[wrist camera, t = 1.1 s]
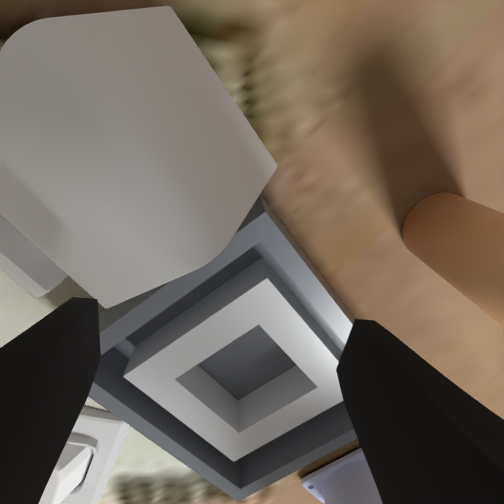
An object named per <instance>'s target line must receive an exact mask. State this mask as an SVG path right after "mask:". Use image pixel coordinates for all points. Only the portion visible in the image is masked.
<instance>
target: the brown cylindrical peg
mask: <svg viewBox="0 0 504 504" xmlns="http://www.w3.org/2000/svg"><path fill="white" fill-rule="evenodd" d="M402 237H403V241H404V244H405V246H406V247H407V249H408V250H409V251H410V252H412V253H413V254H414V255H415V256H417V257H418V258H419V259H420V260H421V261H423V262H424V263H425V264H426V265H428V266H429V267H430V268H431V269H433V270H434V271H435V272H436V273H437V274H439V275H440V276H441V277H442V278H444V279H445V280H446V281H447V282H448V283H450V284H451V285H452V286H453V287H455V288H456V289H457V290H458V291H460V292H461V293H462V294H463V295H464V296H466V297H467V298H468V299H469V300H471V301H472V302H473V303H474V304H475V305H477V306H478V307H479V308H480V309H482V310H483V311H484V312H485V313H487V314H488V315H489V316H490V317H491V318H493V319H494V320H495V321H496V322H498V323H499V324H500V325H501V326H502V327H504V213H501V212H499V211H496V210H494V209H491V208H489V207H486V206H484V205H481V204H479V203H476V202H474V201H471V200H469V199H466V198H464V197H461V196H459V195H456V194H453V193H447V192H442V193H436V194H433V195H430V196H428V197H426V198H424V199H422V200H421V201H420V202H418V203H417V204H416V205H415V206H414V207H413V208H412V209H411V211H410V212H409V213H408V215H407V217H406V219H405V221H404V224H403V229H402Z"/></svg>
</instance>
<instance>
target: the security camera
mask: <svg viewBox="0 0 504 504" xmlns="http://www.w3.org/2000/svg"><path fill="white" fill-rule="evenodd" d="M276 168H277V164H276V162H275V161H274V159H273V158H272V156H271V155H270V153H269V152H268V150H267V149H266V147H265V146H264V144H263V143H262V141H261V140H260V138H259V137H258V135H257V134H256V133H255V131H254V130H253V128H252V127H251V125H250V124H249V122H248V121H247V119H246V118H245V116H244V115H243V113H242V112H241V110H240V109H239V107H238V106H237V104H236V103H235V101H234V100H233V98H232V97H231V95H230V94H229V92H228V91H227V89H226V88H225V86H224V85H223V83H222V82H221V80H220V79H219V77H218V76H217V75H216V73H215V72H214V70H213V69H212V67H211V66H210V64H209V63H208V61H207V60H206V58H205V57H204V55H203V54H202V52H201V51H200V49H199V48H198V46H197V45H196V43H195V42H194V40H193V39H192V37H191V36H190V34H189V33H188V31H187V30H186V28H185V27H184V25H183V24H182V22H181V21H180V19H179V18H178V17H177V15H176V14H175V12H174V11H173V9H172V8H171V7H170V6H160V7H150V8H140V9H130V10H120V11H111V12H101V13H91V14H81V15H71V16H61V17H51V18H44V19H40V20H36V21H33V22H31V23H29V24H27V25H25V26H23V27H22V28H20V29H19V30H18V31H16V32H15V33H14V34H13V35H12V36H11V37H10V38H9V39H8V40H7V41H6V42H5V44H4V46H3V47H2V49H1V51H0V269H1V270H2V271H3V272H4V273H6V274H7V275H8V276H9V277H10V278H12V279H13V280H14V281H15V282H16V283H17V284H19V285H20V286H21V287H22V288H23V289H25V290H26V291H27V292H28V293H29V294H31V295H32V296H33V297H42V296H43V295H45V294H46V293H48V292H50V291H51V290H53V289H54V288H55V287H57V286H58V285H59V284H60V283H61V282H62V281H63V280H64V279H65V278H67V277H68V276H70V277H71V278H72V279H73V280H74V281H75V282H76V283H77V284H79V285H80V286H81V287H82V288H83V289H84V290H85V291H86V292H87V293H88V294H90V295H91V296H92V297H93V298H94V299H98V303H99V304H101V305H102V306H103V307H104V308H105V309H107V308H110V307H112V306H115V305H117V304H119V303H121V302H124V301H126V300H128V299H131V298H133V297H135V296H137V295H140V294H142V293H144V292H147V291H149V290H151V289H153V288H156V287H158V286H160V285H163V284H165V283H167V282H169V281H172V280H174V279H176V278H179V277H181V276H183V275H186V274H188V273H190V272H192V271H195V270H197V269H199V268H201V267H203V266H205V265H206V264H208V263H209V262H210V261H212V260H213V259H214V258H215V257H217V256H218V255H219V254H220V253H221V252H222V251H223V250H224V249H225V248H226V246H227V245H228V244H229V242H230V241H231V239H232V237H233V236H234V234H235V233H236V231H237V230H238V228H239V226H240V225H241V223H242V222H243V220H244V219H245V217H246V215H247V214H248V212H249V211H250V209H251V208H252V206H253V204H254V203H255V201H256V200H257V198H258V197H259V195H260V193H261V192H262V190H263V189H264V187H265V186H266V184H267V182H268V181H269V179H270V178H271V176H272V175H273V173H274V171H275V170H276Z"/></svg>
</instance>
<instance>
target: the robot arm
mask: <svg viewBox="0 0 504 504" xmlns="http://www.w3.org/2000/svg"><path fill="white" fill-rule="evenodd" d="M100 359H101V350H100V333H99V316H98V299H89V298H77V297H72V298H71V299H69V300H68V301H67V302H65V303H64V304H62V305H61V306H59V307H58V308H57V309H55V310H54V311H52V312H51V313H50V314H48V315H47V316H45V317H44V318H43V319H41V320H40V321H38V322H37V323H36V324H34V325H33V326H31V327H30V328H29V329H27V330H26V331H24V332H23V333H21V334H20V335H18V336H17V337H16V338H14V339H13V340H11V341H10V342H8V343H7V344H5V345H4V346H3V347H1V348H0V504H39V502H40V499H41V497H42V494H43V492H44V490H45V487H46V485H47V483H48V481H49V479H50V477H51V475H52V472H53V470H54V468H55V466H56V464H57V462H58V460H59V458H60V455H61V453H62V451H63V449H64V447H65V445H66V443H67V440H68V438H69V436H70V434H71V432H72V430H73V428H74V425H75V423H76V421H77V419H78V417H79V415H80V412H81V410H82V408H83V406H84V404H85V402H86V399H87V397H88V395H89V392H90V389H91V386H92V384H93V381H94V378H95V375H96V371H97V368H98V365H99V362H100ZM336 372H337V376H338V381H339V385H340V389H341V393H342V397H343V400H344V404H345V407H346V409H347V412H348V415H349V417H350V420H351V422H352V425H353V428H354V430H355V433H356V435H357V438H358V441H359V443H360V446H361V448H359V449H357V450H355V451H354V452H352V453H350V454H348V455H346V456H344V457H342V458H340V459H338V460H336V461H334V462H332V463H330V464H328V465H326V466H325V467H323V468H321V469H319V470H317V471H315V472H313V473H311V474H309V475H307V476H305V477H304V478H302V480H301V483H302V486H303V487H304V488H305V489H307V490H308V491H309V492H310V493H311V494H313V495H314V496H315V497H316V498H317V499H319V500H320V501H321V502H322V503H323V504H504V420H503V419H502V418H500V417H499V416H498V415H496V414H495V413H493V412H492V411H490V410H489V409H488V408H486V407H485V406H484V405H482V404H481V403H479V402H478V401H477V400H475V399H474V398H473V397H471V396H470V395H469V394H467V393H466V392H465V391H463V390H462V389H461V388H459V387H458V386H457V385H455V384H454V383H453V382H452V381H450V380H449V379H448V378H446V377H445V376H444V375H443V374H441V373H440V372H439V371H437V370H436V369H435V368H434V367H433V366H431V365H430V364H429V363H428V362H426V361H425V360H424V359H423V358H421V357H420V356H419V355H418V354H416V353H415V352H414V351H413V350H412V349H410V348H409V347H408V346H407V345H405V344H404V343H403V342H402V341H400V340H399V339H398V338H397V337H396V336H394V335H393V334H392V333H391V332H389V331H388V330H387V329H385V328H384V327H383V326H381V325H380V324H379V323H377V322H376V321H374V320H361V319H355V320H354V323H353V326H352V328H351V331H350V334H349V336H348V339H347V342H346V344H345V347H344V350H343V352H342V355H341V358H340V360H339V363H338V366H337V368H336Z"/></svg>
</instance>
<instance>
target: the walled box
mask: <svg viewBox="0 0 504 504" xmlns="http://www.w3.org/2000/svg"><path fill="white" fill-rule="evenodd" d="M98 316H99V333H100V350H101V359H100V362H99V365H98V368H97V371H96V375H95V378H94V381H93V384H92V386H91V389H90V392H89V395H88V397H90V398H91V399H93V400H94V401H96V402H97V403H98V404H100V405H101V406H103V407H104V408H105V409H107V410H108V411H110V412H111V413H113V414H114V415H115V416H117V417H118V418H120V419H121V420H123V421H124V422H125V423H127V424H128V425H130V426H131V427H132V428H134V429H135V430H137V431H138V432H140V433H141V434H142V435H144V436H145V437H147V438H148V439H150V440H151V441H152V442H154V443H155V444H157V445H158V446H160V447H161V448H162V449H164V450H165V451H167V452H168V453H169V454H171V455H172V456H174V457H175V458H177V459H178V460H179V461H181V462H182V463H184V464H185V465H187V466H188V467H189V468H191V469H192V470H194V471H195V472H197V473H198V474H199V475H201V476H202V477H204V478H205V479H206V480H208V481H209V482H211V483H212V484H214V485H215V486H216V487H218V488H219V489H221V490H222V491H224V492H225V493H226V494H228V495H229V496H231V497H232V498H233V499H235V500H236V501H240V500H242V499H244V498H246V497H248V496H249V495H251V494H253V493H255V492H257V491H259V490H261V489H263V488H265V487H267V486H268V485H270V484H272V483H274V482H276V481H278V480H280V479H282V478H284V477H286V476H287V475H289V474H291V473H293V472H295V471H297V470H299V469H301V468H303V467H305V466H306V465H308V464H310V463H312V462H314V461H316V460H318V459H320V458H322V457H324V456H326V455H327V454H329V453H331V452H333V451H335V450H337V449H339V448H341V447H343V446H345V445H346V444H348V443H350V442H352V441H354V440H356V439H358V438H357V435H356V433H355V430H354V428H353V425H352V422H351V420H350V417H349V415H348V412H347V409H346V407H345V404H344V400H343V397H342V393H341V389H340V385H339V381H338V376H337V372H336V368H337V366H338V363H339V360H340V358H341V355H342V352H343V350H344V347H345V344H346V342H347V339H348V336H349V334H350V331H351V328H352V326H353V323H354V320H355V318H354V317H353V315H352V314H351V313H350V312H349V310H348V309H347V308H346V306H345V305H344V304H343V302H342V301H341V300H340V298H339V297H338V296H337V294H336V293H335V292H334V290H333V289H332V288H331V287H330V285H329V284H328V283H327V281H326V280H325V279H324V277H323V276H322V275H321V273H320V272H319V271H318V269H317V268H316V267H315V265H314V264H313V263H312V262H311V260H310V259H309V258H308V256H307V255H306V254H305V252H304V251H303V250H302V248H301V247H300V246H299V244H298V243H297V242H296V240H295V239H294V238H293V237H292V235H291V234H290V233H289V231H288V230H287V229H286V227H285V226H284V225H283V223H282V222H281V221H280V219H279V218H278V217H277V215H276V214H275V213H274V211H273V210H272V209H271V208H270V206H269V205H268V204H267V202H266V201H265V200H264V198H263V197H262V196H261V194H260V195H259V197H258V198H257V200H256V201H255V203H254V204H253V206H252V208H251V209H250V211H249V212H248V214H247V215H246V217H245V219H244V220H243V222H242V223H241V225H240V226H239V228H238V230H237V231H236V233H235V234H234V236H233V237H232V239H231V241H230V242H229V244H228V245H227V246H226V248H225V249H224V250H223V251H222V252H221V253H220V254H219V255H218V256H217V257H215V258H214V259H213V260H212V261H210V262H209V263H208V264H206V265H205V266H203V267H201V268H199V269H197V270H195V271H192V272H190V273H188V274H186V275H183V276H181V277H179V278H176V279H174V280H172V281H169V282H167V283H165V284H163V285H160V286H158V287H156V288H153V289H151V290H149V291H147V292H144V293H142V294H140V295H137V296H135V297H133V298H131V299H128V300H126V301H124V302H121V303H119V304H117V305H115V306H112V307H110V308H107V309H105V308H104V309H103V310H102V311H100V312H99V313H98Z"/></svg>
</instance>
